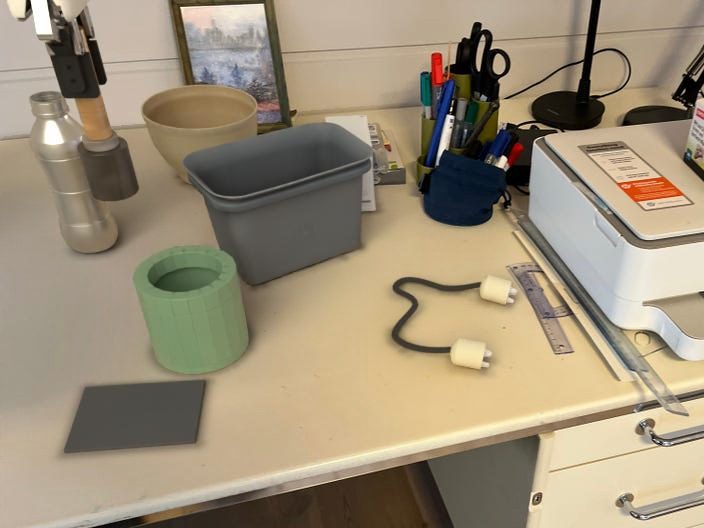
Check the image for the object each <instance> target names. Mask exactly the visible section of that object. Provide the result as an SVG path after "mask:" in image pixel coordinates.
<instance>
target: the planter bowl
mask: <svg viewBox="0 0 704 528" xmlns="http://www.w3.org/2000/svg"><path fill="white" fill-rule="evenodd" d="M140 113H141V117H142V119H143V121H144V123H145V126H146V129H147V133H148V135H149V137H150V139H151V141H152V144H153V145H154V147H155V149H156V150H157V152H158V153H159V154H160V156H161V157H162V158H163V160H165V162H166V163H167V164H168V165H169V166H171V168H172V169H174V170H175V171H176V172H177V175H178V176H179V178H180V180H182V181H183V182H184V183H186V184H189V185H192V184H191V183H190V182H189V180H188V175H187V174H188V172H187V171H186V170H185V169H184V168H183V167H182V164H181V163H182V160H183V158H184V157H186V156H187V155H189V154H191V153H193V152H195V151H199V150H202V149H206V148H210V147H214V146H218V145H222V144H226V143H230V142H234V141H238V140H242V139H245V138H249V137H253V136H258V125H259V123H258V113H259V105H258V102H257V100H256V98H255V97H253V95H251V94H249V93H248V92H246V91H243V90H242V89H238V88H235V87H231V86H227V85H218V84H189V85H181V86H178V87H177V86H175V87H172V88H169V89H165V90H161V91H158V92H157V93H154V94H152V95H150V96H149V97H146V99H145V100H144V101H143V103H142V104H141V105H140Z"/></svg>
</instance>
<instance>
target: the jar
mask: <svg viewBox="0 0 704 528" xmlns="http://www.w3.org/2000/svg"><path fill="white" fill-rule="evenodd" d="M132 281H133V284H134V288H135V290H136V295H137V298H138V302H139V305H140V308H141V312H142V316H143V319H144V322H145V326H146V329H147V332H148V336H149V340H150V343H151V346H152V349H153V353H154V357H155V359H156V360H157V362H158V363H159V364H160V365H161V366H162V367H164V368H165V369H167V370H169V371H171V372H174V373H178V374H185V375H203V374H208V373H212V372H216V371H219V370H221V369H224V368H226V367H228V366H230V365H232V364H234V363H236V361H238V360H239V359H240V358H241V357H242V356H243V355H244V354H245V352H246V351H247V349H248V347H249V343H250V337H249V329H248V324H247V318H246V312H245V305H244V302H243V301H244V300H243V295H242V290H241V289H242V288H241V284H240V278H239V274H238V272H237V267H236V264H235V262H234V259H233V258H232V257H231V256H230V255H229V254H227V253H226V252H224V251H222V250H220V248H217V247H214V246H207V245H200V244H191V245H181V246H176V247H169V248H167V249H164V250H161V251H159V252H156V253H154V254H152V255H150V256H149V257H147V258H145V259H144V260H142V261H141V262H140V264H138V266H137V267H136V268H135V270H134V273H133V276H132Z"/></svg>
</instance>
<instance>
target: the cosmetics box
mask: <svg viewBox="0 0 704 528" xmlns="http://www.w3.org/2000/svg"><path fill="white" fill-rule="evenodd" d="M324 122H329V123H334V124H337V125H340V126H342V127H343V128H345V129H346V130H348V131H349V132H351V133H352V134H354V135H355V136H357V137H358V138H359V139H361V140H362V141H364V142H365V143H367V144H368V145H369V146H371V147H372V148H373V142H372V138H371V133H370V129H369V122H368V117H367V115H366V114H351V115H350V114H349V115H329V116H325V117H324ZM370 160H371V165H372V167H371V169H370V171H368V172H367V173H365V174H363V182H362V212H375V211H377V208H376V195H375V179H374V154H373V155H372V157H370Z"/></svg>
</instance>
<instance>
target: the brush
mask: <svg viewBox="0 0 704 528" xmlns="http://www.w3.org/2000/svg"><path fill="white" fill-rule="evenodd" d="M58 27H59V28H60V29H66V31H67V32H68V33H69V30H68V26H58ZM78 28H79V31H80V35H81V39H82V43H83V46H84V52H89V53H90V51H89V47H88V44H87V40H86V36H85V33H84V29H83V27H82V26H80V25H78ZM69 35H70V33H69ZM90 57H91V54H90ZM91 61H92V58H91ZM92 64H93V62H92ZM93 68H94V65H93ZM94 71H95V69H94ZM95 75H96V72H95ZM96 78H97V76H96ZM97 82H98V80H97ZM98 86H99V89H100V95H99V97H98V98H74V102H75V107H76V109H77V113H78V116H79V118H80V122H81V126H82V127H83V129H84V132H85V133H84V134H83V135H82V142H80V143H79V144H78V146H77V151H78V154H79V157H80V161H81V164H82V167H83V170H84V173H85V176H86V180H87V183H88V186H89V189H90V192H91V195H92V197H93V198H95V199H97V200H100V201H106V202H119V201H124V200H127V199H129V198H132V197H133V196H135V195H136V194H137V193H138V192H139V191H140V185H139V181H138V178H137V174H136V170H135V166H134V162H133V159H132V155H131V151H130V148H129V144H128V141H127V140H126V139H125V138H124V137H121V136H119V135H118V133H117V131H116V130H113V129H112V127H111V124H110V120H109V119H110V118H109V116H108V112H107V109H106V105H105V101H104V98H103V95H102V90H101V87H100V85H99V83H98Z"/></svg>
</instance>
